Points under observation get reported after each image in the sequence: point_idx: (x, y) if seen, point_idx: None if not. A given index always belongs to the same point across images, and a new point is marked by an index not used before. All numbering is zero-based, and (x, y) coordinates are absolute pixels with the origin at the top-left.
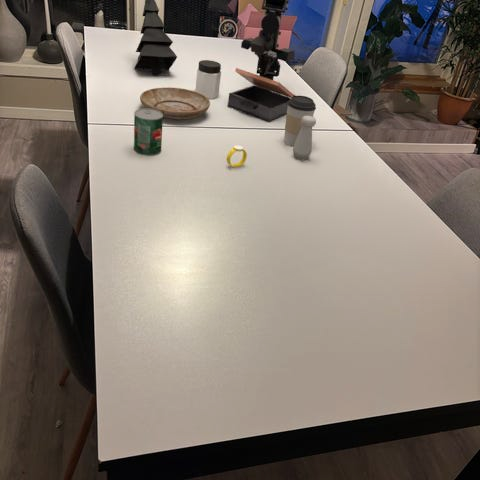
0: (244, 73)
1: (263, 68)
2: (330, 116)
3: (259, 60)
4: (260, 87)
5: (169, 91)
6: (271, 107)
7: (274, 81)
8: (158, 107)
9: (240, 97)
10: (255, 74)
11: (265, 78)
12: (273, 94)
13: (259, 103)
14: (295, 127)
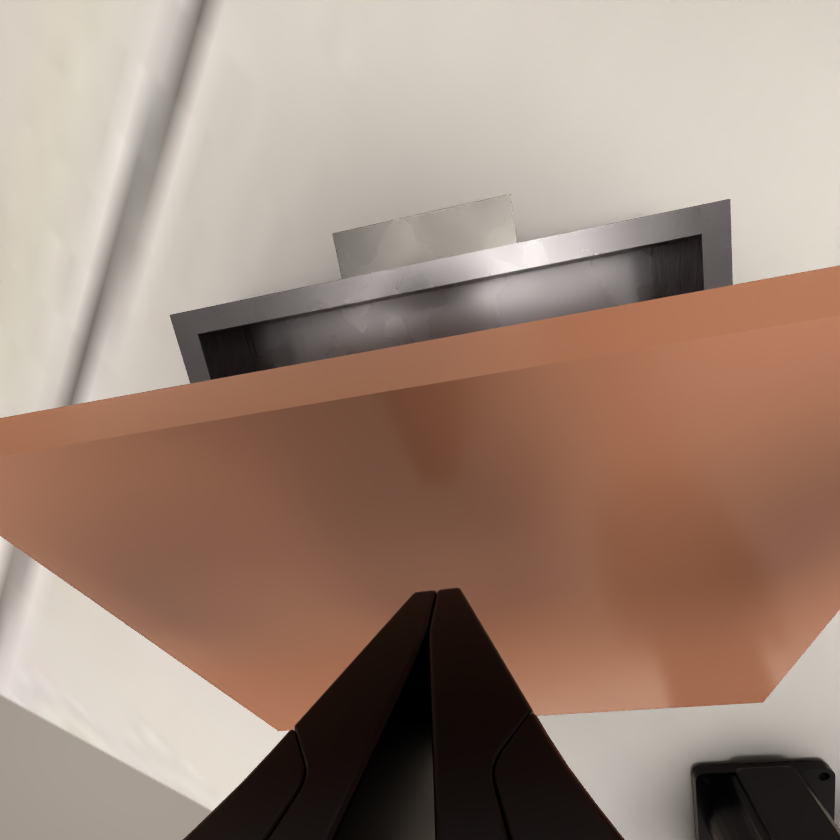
0: (729, 296)
1: (433, 673)
2: (176, 768)
3: (613, 830)
4: (769, 778)
5: None
6: (192, 344)
7: (3, 450)
8: None
9: (553, 237)
10: (447, 380)
11: (192, 416)
12: None
13: (320, 307)
14: None
